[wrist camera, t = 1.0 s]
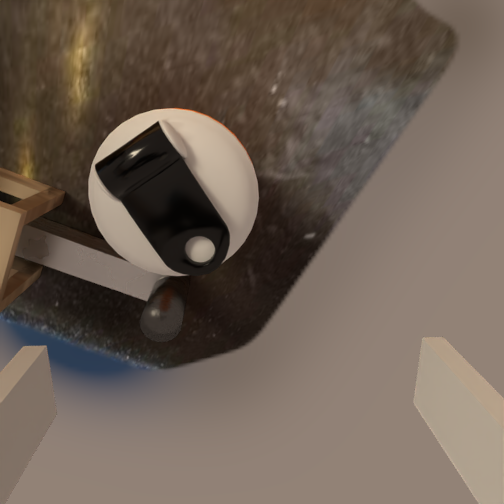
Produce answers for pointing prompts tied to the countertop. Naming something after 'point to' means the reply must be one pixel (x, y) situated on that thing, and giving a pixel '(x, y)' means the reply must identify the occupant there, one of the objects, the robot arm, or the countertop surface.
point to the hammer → (108, 273)
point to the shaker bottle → (173, 192)
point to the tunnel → (20, 230)
